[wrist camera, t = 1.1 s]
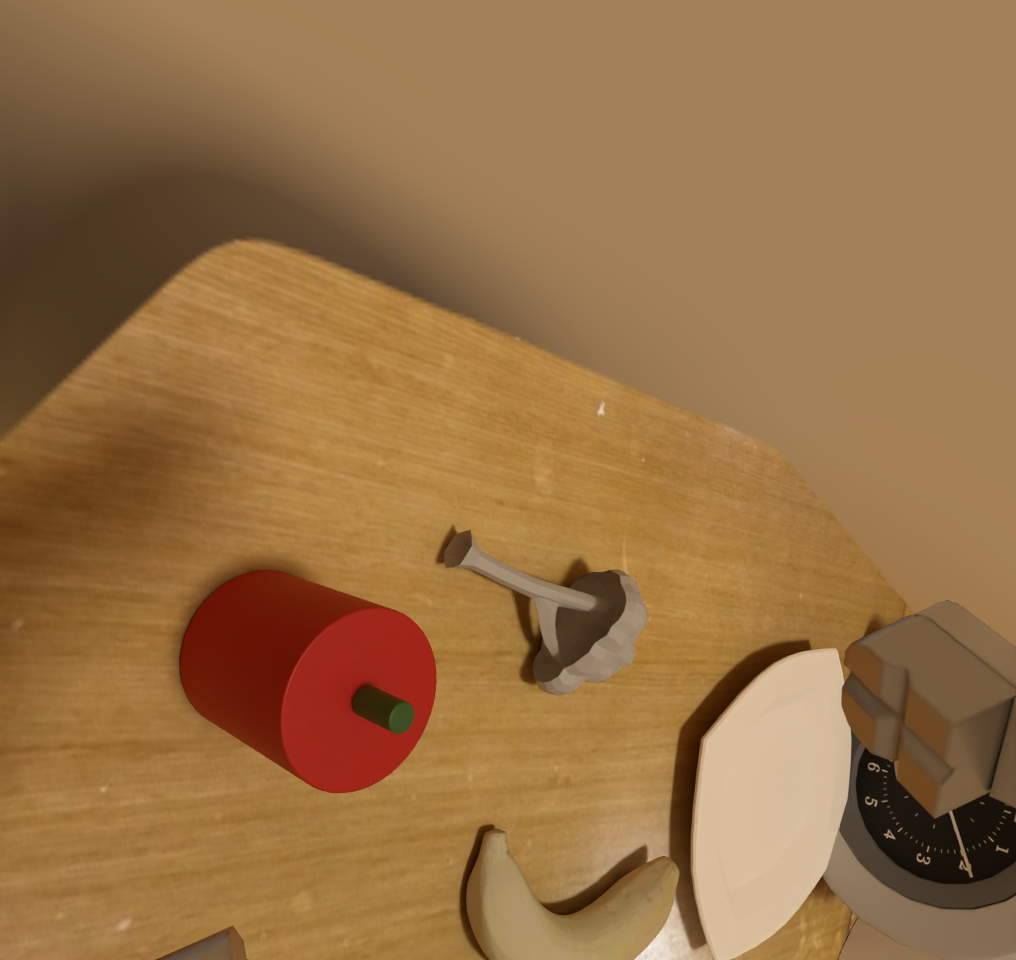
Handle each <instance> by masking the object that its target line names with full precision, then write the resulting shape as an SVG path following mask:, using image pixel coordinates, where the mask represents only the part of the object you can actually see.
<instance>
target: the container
mask: <svg viewBox="0 0 1016 960" xmlns="http://www.w3.org/2000/svg"><path fill="white" fill-rule="evenodd" d="M838 960H948V959H944V958H941V957H938V956H935V955H932V954H929V953H925V952H922V951H919V950H916V949H913V948H910V947H907V946H904V945H901V944H898V943H897V942H895V941H893V940H892V939H890V938H889V937H887V936H885V935H884V934H882V933H881V932H879V931H877V930H876V929H874V928H873V927H871V926H869V925H868V924H866V923H865V922H863V921H861V920H860V919H859V918H858V919H857V921H856V922H855V924H854V926H853V928H852V930H851V932H850V934H849V936H848V938H847V940H846V942H845V944H844V946H843V949H842V951H841V953H840V956H839V959H838Z"/></svg>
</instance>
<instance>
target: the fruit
mask: <svg viewBox="0 0 1016 960" xmlns="http://www.w3.org/2000/svg"><path fill="white" fill-rule="evenodd" d="M678 880H679V870H678V867H677V865H676V864H675V863H674V862H673V861H672V860H670V859H669V858H668V857H665V856H661V857H658V858H656V859H654V860H652V861H650V862H647V863H645V864H644V865H642V866H640V867H638V868H636V869H634V870H633V871H631V872H630V873H628V874H626V875H625V876H624V877H622V878H621V879H620V880H618V881H617V882H616V883H615V884H613V885H612V886H611V887H610V888H609V889H608V890H607V891H606V892H605V893H604V894H603V895H601V896H600V897H599V898H598V899H597V900H596V901H594V902H593V903H591V904H590V905H588V906H587V907H585V908H584V909H582V910H580V911H578V912H576V913H573V914H570V915H557V914H554V913H552V912H550V911H549V910H547V909H546V908H545V907H543V906H542V905H541V903H540V902H539V901H538V899H537V898H536V896H535V895H534V893H533V891H532V890H531V888H530V886H529V884H528V883H527V881H526V879H525V877H524V875H523V873H522V871H521V869H520V867H519V866H518V864H517V863H516V861H515V860H514V858H513V856H512V855H511V854H510V852H509V849H508V845H507V841H506V832H505V831H502V830H500V829H492V830H491V831H489V832H486V833H485V834H484V837H483V842H482V845H481V849H480V853H479V856H478V859H477V861H476V863H475V865H474V868H473V870H472V873H471V875H470V877H469V880H468V884H467V893H466V905H467V913H468V917H469V921H470V924H471V927H472V930H473V933H474V935H475V938H476V940H477V942H478V944H479V946H480V947H481V949H482V951H483V952H484V954H485V955H486V957H487V958H488V959H489V960H634V959H635V958H636V957H637V956H638V955H639V954H640V953H641V952H642V951H643V950H644V949H645V948H646V947H647V946H648V945H649V944H650V943H651V942H652V940H653V939H654V938H655V937H656V936H657V934H658V933H659V932H660V931H661V929H662V928H663V926H664V925H665V923H666V921H667V919H668V916H669V914H670V911H671V908H672V905H673V901H674V896H675V891H676V887H677V884H678Z"/></svg>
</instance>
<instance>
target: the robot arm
mask: <svg viewBox="0 0 1016 960" xmlns="http://www.w3.org/2000/svg"><path fill="white" fill-rule="evenodd" d="M844 665H845V666H846V667H847V668H848V669H849V670H850V671H851V672H852V673H851V674H850V676H849V677H848V679H847V680H846V682H845V683H844V685H843V687H842V696H841V706H842V709H843V712H844V714H845V717H846V720H847V722H848V725H849V726H850V728H851V729H852V731H853V732H854V734H855V735H856V737H857V738H858V740H859V741H860V742H861V743H862V744H863V745H864V746H865V747H866V748H867V749H868V750H869V751H870V752H871V753H872V754H874V755H877V756H880V757H882V758H885V759H888V760H891V761H893V762H894V767H895V773H896V780H897V781H898V782H899V783H900V784H901V785H902V786H903V787H904V788H905V789H906V790H907V791H908V792H909V793H910V794H911V795H912V796H913V797H914V798H915V799H916V800H917V801H918V802H919V803H920V804H921V805H922V806H923V807H924V808H925V809H926V810H927V811H928V812H929V813H930V814H931V816H932V817H933V818H934V819H935V818H937V817H939V816H941V815H944V814H946V813H948V812H950V811H952V810H954V809H956V808H958V807H960V806H962V805H964V804H966V803H968V802H970V801H972V800H974V799H977V798H979V797H981V796H983V795H985V794H987V793H989V792H990V797H992V798H995V799H997V800H999V801H1001V802H1003V803H1005V804H1008V805H1010V806H1012V807H1014V808H1016V647H1015V646H1014V645H1012V644H1011V643H1010V642H1008V641H1007V640H1006V639H1004V638H1003V637H1002V636H1000V635H999V634H998V633H997V632H995V631H994V630H993V629H991V628H990V627H989V626H987V625H986V624H985V623H983V622H982V621H981V620H979V619H978V618H977V617H975V616H974V615H973V614H971V613H970V612H969V611H968V610H966V609H965V608H964V607H962V606H960V605H959V604H958V603H955V602H951V601H949V600H946V601H943V602H939V603H937V604H935V605H933V606H931V607H929V608H927V609H924V610H922V611H920V612H918V613H916V614H914V615H909V616H907V617H905V618H903V619H901V620H899V621H896V622H894V623H892V624H890V625H888V626H886V627H884V628H882V629H880V630H878V631H876V632H873V633H871V634H869V635H867V636H865V637H863V638H861V639H859V640H857V641H855V642H853V643H851V644H850V646H849V647H848V648H847V649H846V651H845V659H844ZM156 960H247V959H246V953H245V948H244V942H243V939H242V938H241V936H240V935H239V934H238V932H237V931H236V929H235V928H234V926H231V927H228V928H226V929H224V930H222V931H219V932H217V933H215V934H212V935H210V936H208V937H206V938H203V939H201V940H199V941H197V942H194V943H192V944H190V945H188V946H185V947H183V948H181V949H178V950H176V951H174V952H172V953H169V954H167V955H165V956H163V957H160V958H158V959H156Z"/></svg>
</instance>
